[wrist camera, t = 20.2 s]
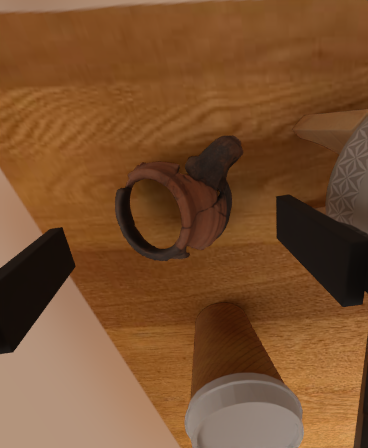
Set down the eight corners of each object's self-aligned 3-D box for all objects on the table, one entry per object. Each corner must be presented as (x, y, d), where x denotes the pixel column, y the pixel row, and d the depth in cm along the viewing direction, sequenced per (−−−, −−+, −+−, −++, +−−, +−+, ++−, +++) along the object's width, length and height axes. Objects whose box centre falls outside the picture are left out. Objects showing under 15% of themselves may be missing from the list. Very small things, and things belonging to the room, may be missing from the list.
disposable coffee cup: (167, 335, 30) (162, 455, 19) (209, 277, 28) (232, 380, 16) (231, 362, 32) (259, 485, 21) (276, 311, 30) (336, 423, 18)
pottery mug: (206, 254, 27) (165, 293, 20) (147, 198, 29) (90, 216, 22) (285, 164, 21) (264, 177, 14) (202, 99, 22) (147, 82, 16)
